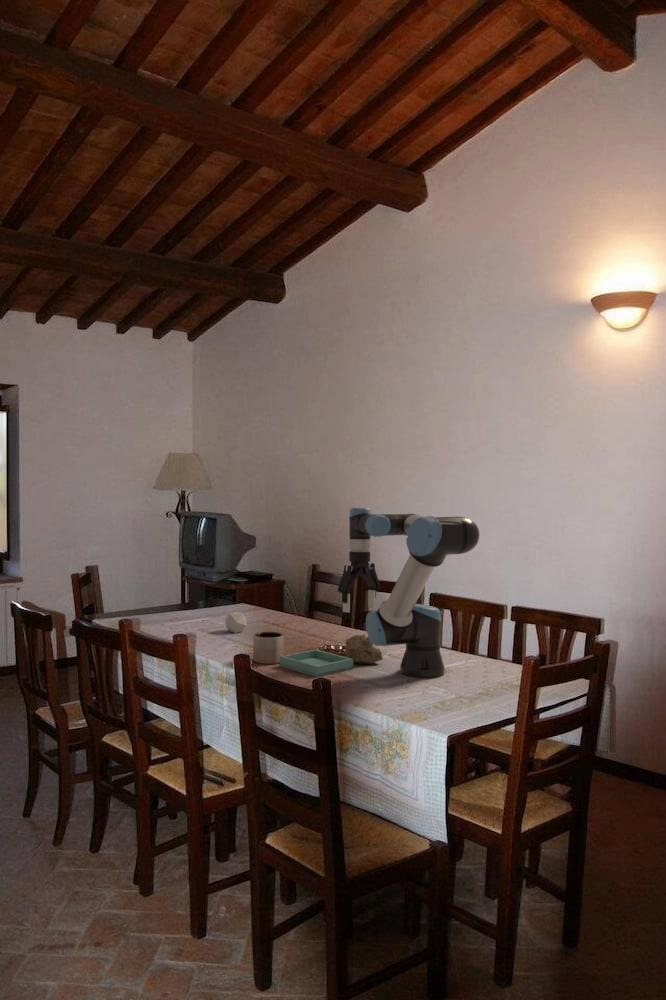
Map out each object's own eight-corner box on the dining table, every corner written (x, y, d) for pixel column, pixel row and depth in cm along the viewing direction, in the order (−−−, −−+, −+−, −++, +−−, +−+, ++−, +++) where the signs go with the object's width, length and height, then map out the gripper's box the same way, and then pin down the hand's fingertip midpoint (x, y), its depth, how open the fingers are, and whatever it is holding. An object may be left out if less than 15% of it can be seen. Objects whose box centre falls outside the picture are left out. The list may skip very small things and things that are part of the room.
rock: (350, 650, 291) (371, 633, 294) (334, 646, 302) (354, 629, 306) (365, 675, 293) (386, 658, 297) (349, 670, 304) (369, 653, 308)
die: (250, 634, 346) (250, 612, 351) (239, 626, 339) (238, 604, 345) (233, 639, 349) (232, 618, 354) (221, 632, 342) (221, 610, 348)
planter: (271, 666, 290) (272, 639, 290) (246, 661, 296) (247, 635, 296) (289, 660, 300) (290, 634, 299) (265, 656, 305) (265, 630, 305)
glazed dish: (353, 669, 289) (353, 659, 289) (317, 677, 277) (317, 666, 277) (315, 658, 302) (315, 649, 302) (279, 666, 290) (279, 656, 290)
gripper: (374, 548, 310) (374, 605, 311) (327, 552, 292) (327, 612, 293) (390, 549, 305) (389, 607, 305) (343, 553, 287) (343, 615, 287)
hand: (359, 610), depth 299 cm, fingers open, 13 cm apart
